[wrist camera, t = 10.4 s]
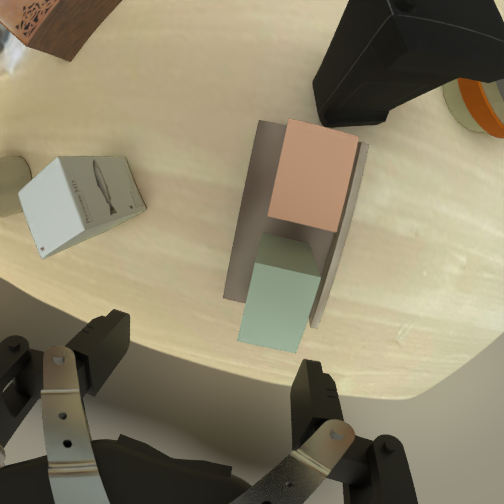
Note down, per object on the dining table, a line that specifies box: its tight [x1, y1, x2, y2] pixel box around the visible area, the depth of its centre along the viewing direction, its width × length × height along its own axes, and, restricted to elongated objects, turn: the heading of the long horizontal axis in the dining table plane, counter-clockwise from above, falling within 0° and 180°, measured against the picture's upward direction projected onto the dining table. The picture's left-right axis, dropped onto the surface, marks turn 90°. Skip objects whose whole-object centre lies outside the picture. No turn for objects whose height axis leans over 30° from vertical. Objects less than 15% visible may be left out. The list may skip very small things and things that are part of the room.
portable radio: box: [313, 0, 504, 128], centre depth 15 cm, size 8×6×25 cm
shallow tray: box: [223, 120, 369, 329], centre depth 30 cm, size 11×20×4 cm, turn 168°
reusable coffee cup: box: [443, 78, 504, 138], centre depth 17 cm, size 13×13×15 cm
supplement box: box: [18, 156, 146, 260], centre depth 27 cm, size 7×7×13 cm
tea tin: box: [237, 233, 321, 353], centre depth 27 cm, size 5×7×10 cm
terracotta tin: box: [268, 119, 359, 232], centre depth 24 cm, size 5×7×10 cm
